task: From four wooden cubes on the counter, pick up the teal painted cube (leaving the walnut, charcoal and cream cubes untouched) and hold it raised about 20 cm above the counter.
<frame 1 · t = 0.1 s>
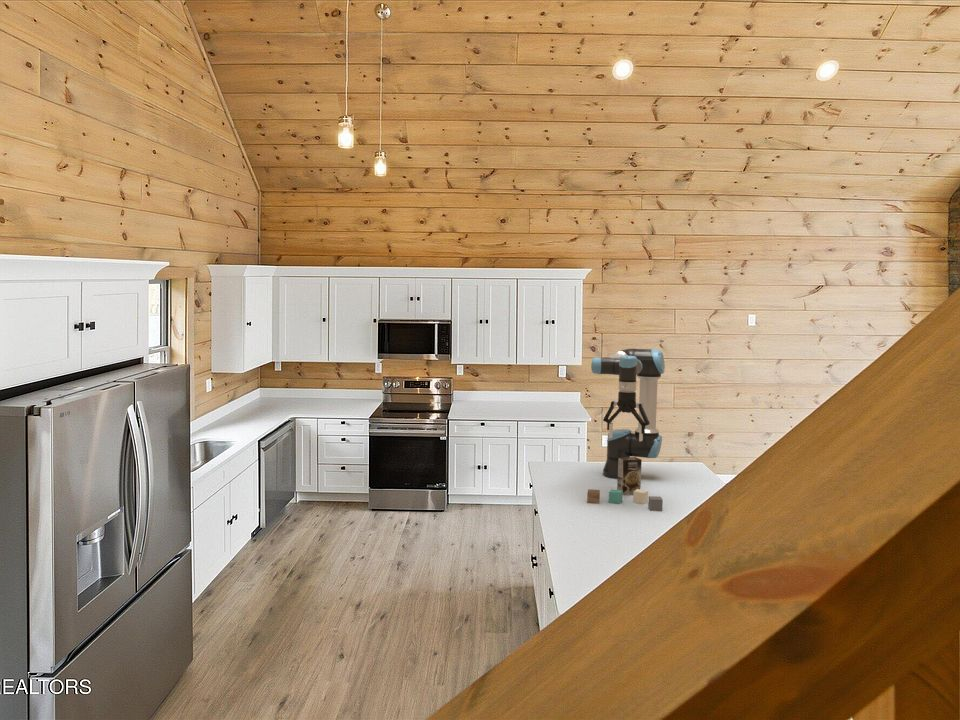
hand: (625, 439, 339), 28 cm above the countertop, tool pointing down, fingers open, 13 cm apart
cream cube: (640, 502, 342), on the countertop
teal cube: (615, 502, 341), on the countertop
charcoal cube: (655, 509, 330), on the countertop
coffee box: (628, 493, 357), on the countertop
walnut cube: (593, 502, 340), on the countertop
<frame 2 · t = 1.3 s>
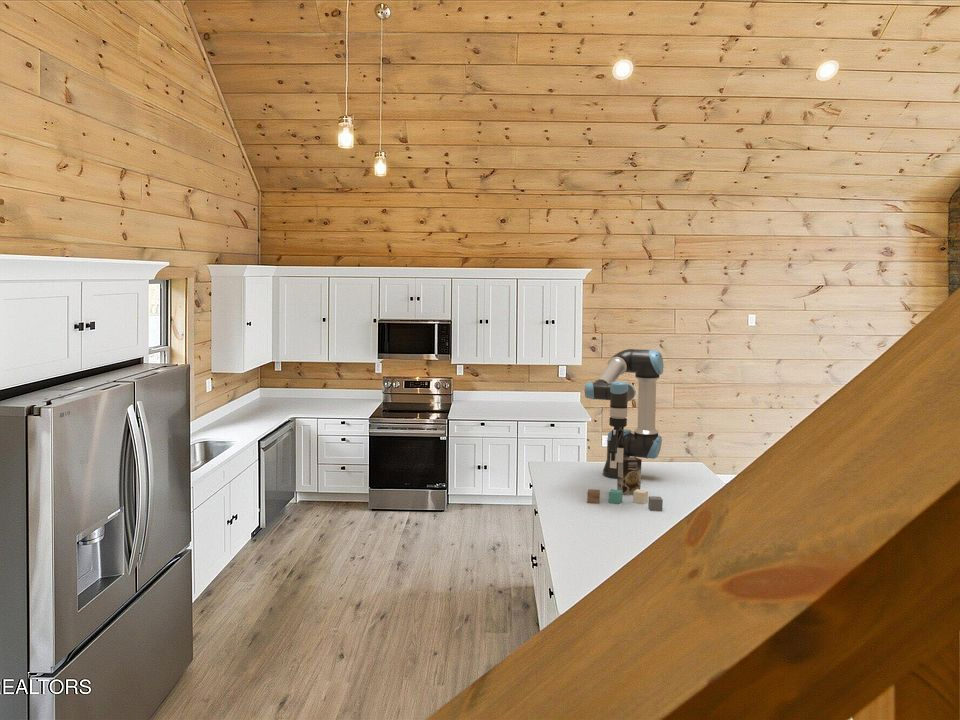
hand: (616, 465, 339), 17 cm above the countertop, tool pointing down, fingers open, 13 cm apart
nothing on the countertop moved.
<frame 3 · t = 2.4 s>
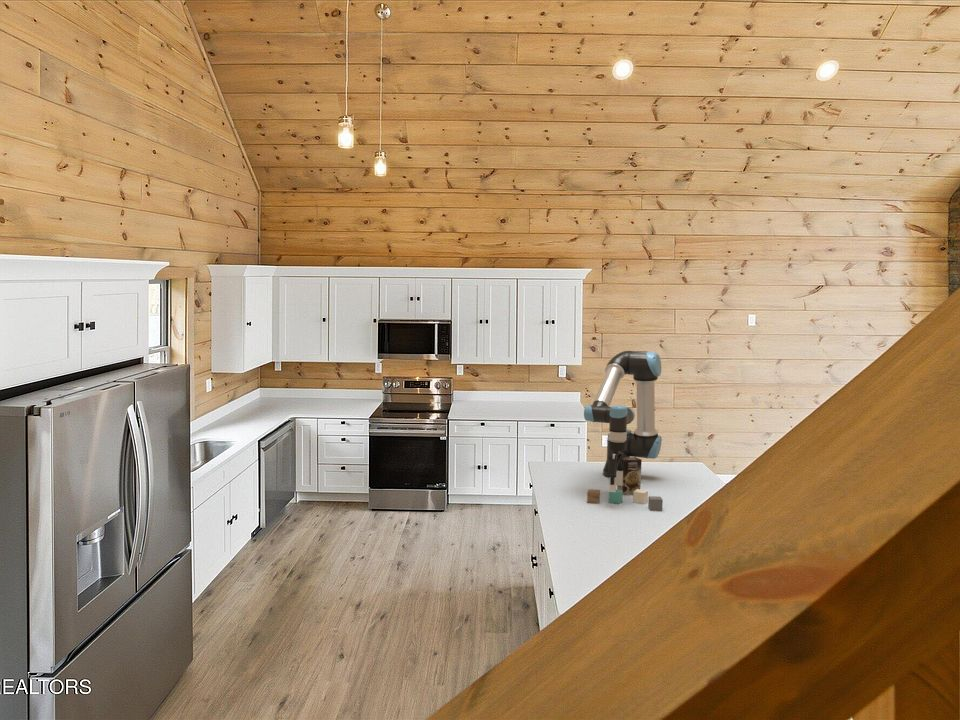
hand: (615, 488, 340), 6 cm above the countertop, tool pointing down, fingers open, 13 cm apart
nothing on the countertop moved.
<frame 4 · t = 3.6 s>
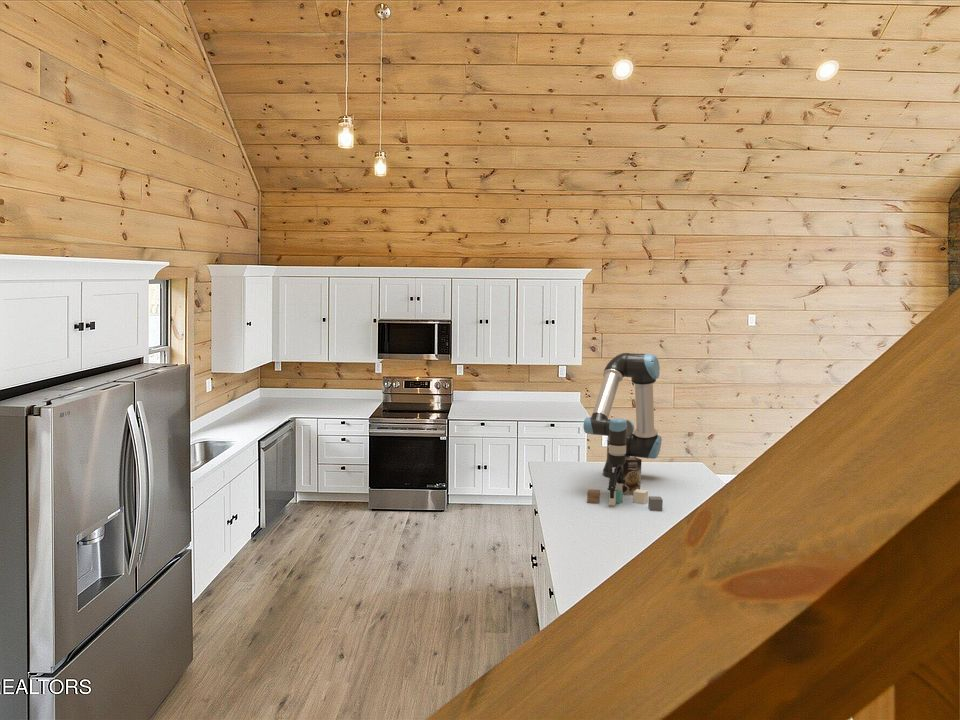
hand: (615, 501, 341), 0 cm above the countertop, tool pointing down, fingers open, 13 cm apart
nothing on the countertop moved.
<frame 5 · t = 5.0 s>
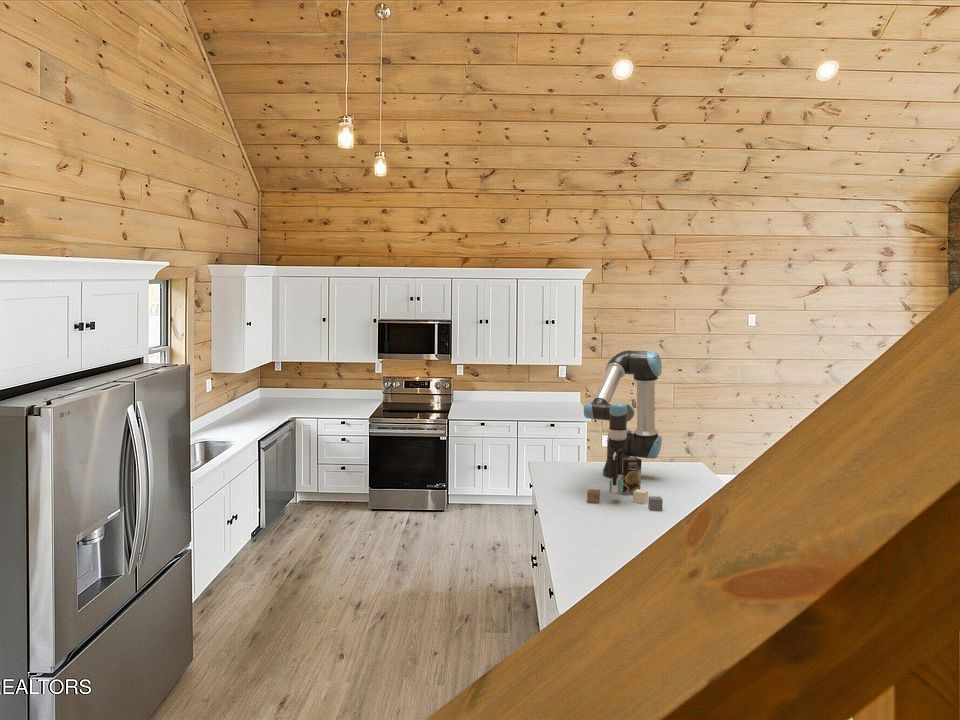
hand: (616, 490, 341), 5 cm above the countertop, tool pointing down, fingers closed on teal cube, 5 cm apart
teal cube: (616, 491, 341), point 5 cm above the countertop, touching gripper
everything else where it was.
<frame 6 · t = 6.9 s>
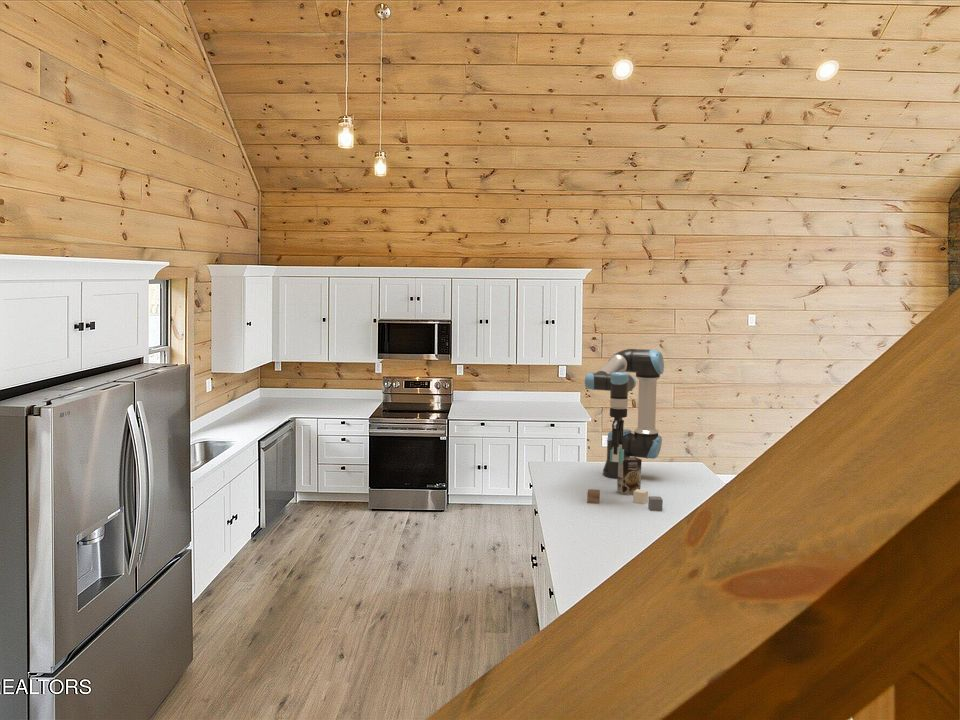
hand: (616, 460, 339), 19 cm above the countertop, tool pointing down, fingers closed on teal cube, 5 cm apart
teal cube: (616, 461, 339), point 18 cm above the countertop, touching gripper
everything else where it was.
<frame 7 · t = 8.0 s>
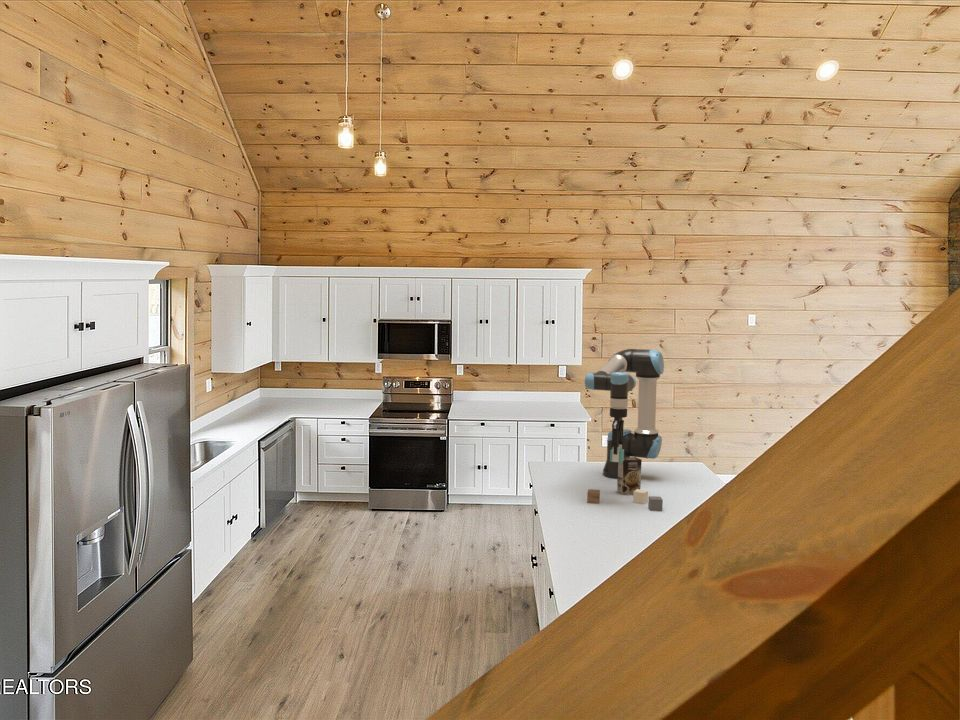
hand: (616, 460, 339), 19 cm above the countertop, tool pointing down, fingers closed on teal cube, 5 cm apart
teal cube: (616, 461, 339), point 18 cm above the countertop, touching gripper
everything else where it was.
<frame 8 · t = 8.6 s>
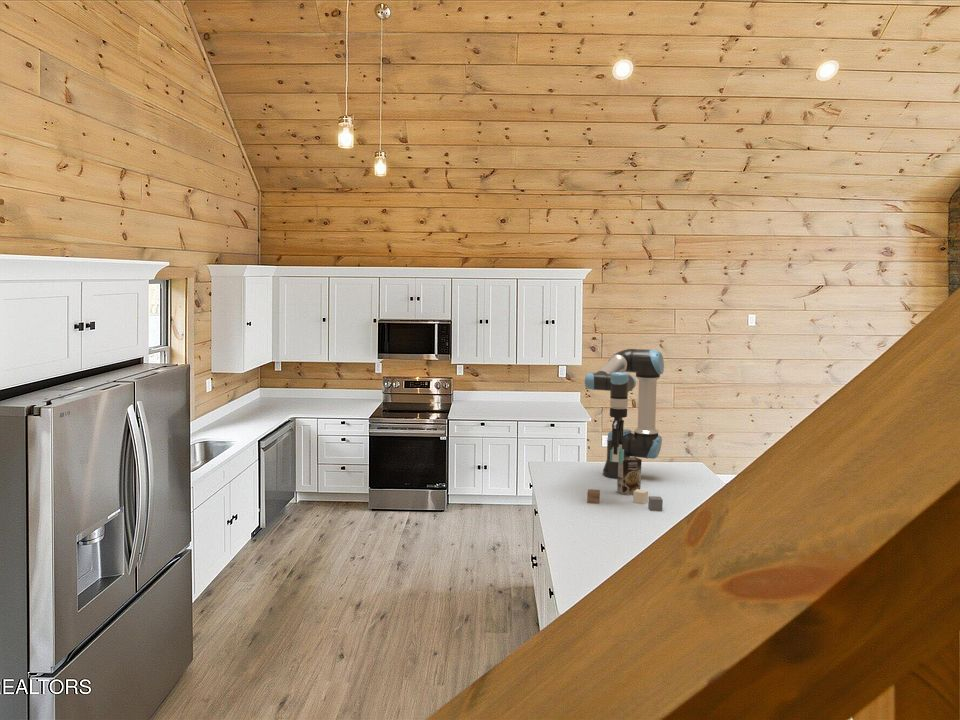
hand: (616, 460, 339), 19 cm above the countertop, tool pointing down, fingers closed on teal cube, 5 cm apart
teal cube: (616, 461, 339), point 18 cm above the countertop, touching gripper
everything else where it was.
at the end: the gripper is holding teal cube; teal cube point 18.3 cm above the countertop; cream cube moved 0.1 cm from its start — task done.
